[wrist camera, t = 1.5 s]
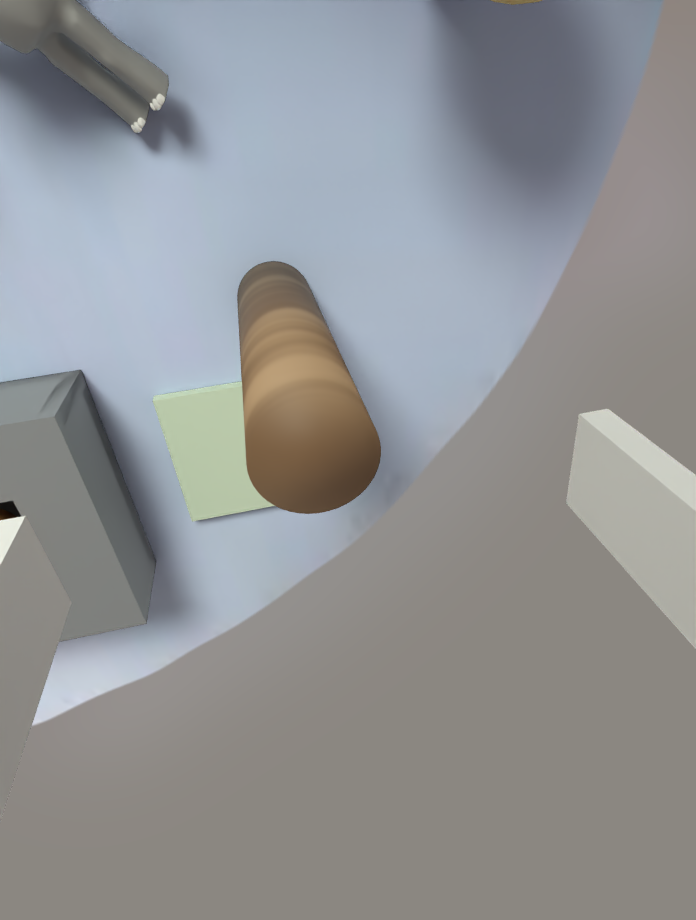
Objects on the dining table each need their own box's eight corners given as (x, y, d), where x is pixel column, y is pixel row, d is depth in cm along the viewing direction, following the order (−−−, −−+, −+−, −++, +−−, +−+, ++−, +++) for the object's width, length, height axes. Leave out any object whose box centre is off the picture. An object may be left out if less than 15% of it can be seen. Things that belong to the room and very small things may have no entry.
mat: (153, 395, 29) (152, 400, 28) (305, 370, 29) (307, 375, 29) (192, 515, 33) (192, 521, 32) (323, 490, 34) (325, 496, 33)
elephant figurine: (81, 218, 24) (-204, 56, 17) (109, 107, 25) (-144, -81, 19) (220, 101, 17) (-149, -227, 11) (247, -39, 19) (-64, -402, 12)
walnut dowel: (230, 267, 26) (232, 411, 13) (305, 256, 26) (376, 387, 14) (245, 339, 28) (260, 524, 15) (315, 328, 28) (384, 500, 16)
